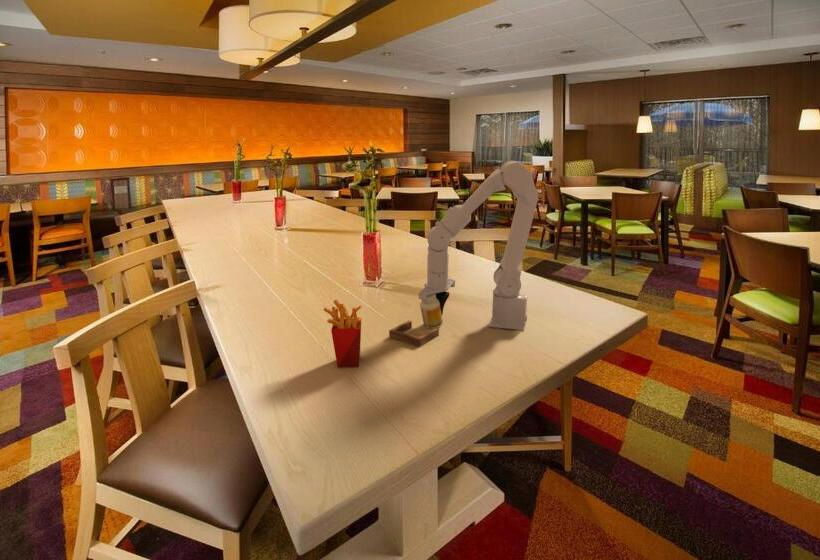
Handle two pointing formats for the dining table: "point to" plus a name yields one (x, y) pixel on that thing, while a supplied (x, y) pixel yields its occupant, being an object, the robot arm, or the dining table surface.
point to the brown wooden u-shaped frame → (417, 341)
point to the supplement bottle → (431, 312)
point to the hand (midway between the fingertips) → (436, 316)
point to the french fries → (345, 335)
